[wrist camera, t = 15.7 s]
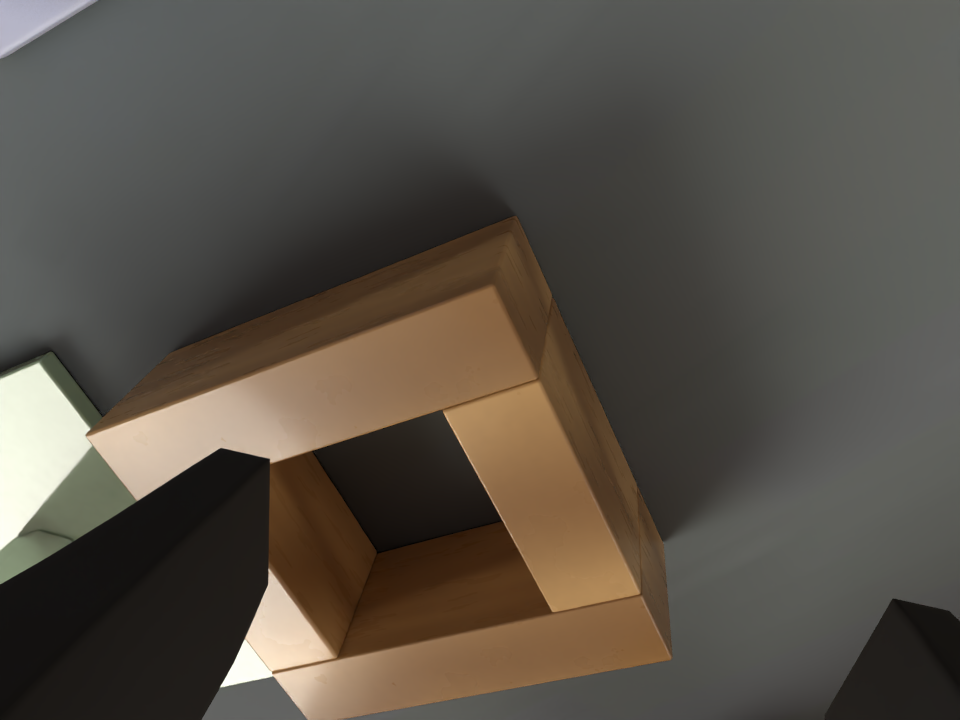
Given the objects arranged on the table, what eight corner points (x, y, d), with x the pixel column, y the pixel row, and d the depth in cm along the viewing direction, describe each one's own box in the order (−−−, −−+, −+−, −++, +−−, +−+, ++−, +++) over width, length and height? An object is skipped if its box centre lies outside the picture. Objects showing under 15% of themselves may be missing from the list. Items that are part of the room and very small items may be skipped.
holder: (169, 352, 21) (82, 435, 18) (517, 214, 18) (493, 283, 14) (352, 616, 25) (311, 725, 22) (664, 544, 22) (673, 660, 18)
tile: (-151, 436, 25) (-168, 447, 24) (52, 349, 22) (38, 360, 21) (98, 702, 30) (89, 716, 29) (290, 661, 27) (283, 675, 26)
